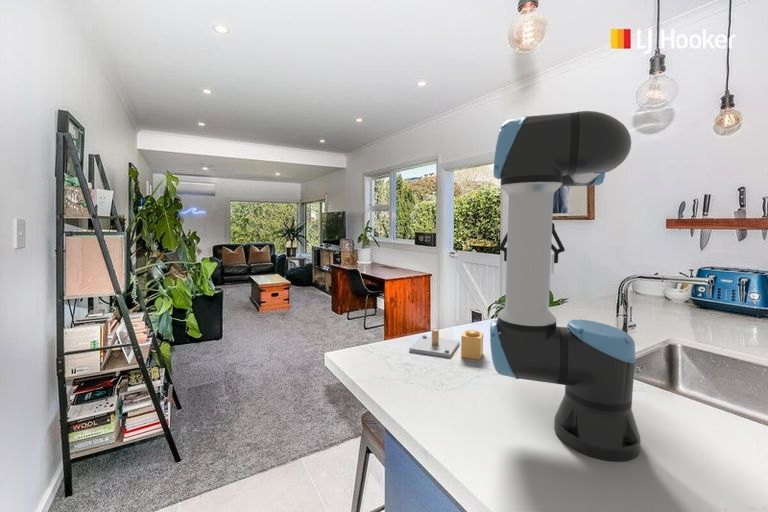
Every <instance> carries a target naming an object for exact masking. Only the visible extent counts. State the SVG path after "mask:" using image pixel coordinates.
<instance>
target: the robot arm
mask: <svg viewBox="0 0 768 512" xmlns="http://www.w3.org/2000/svg"><path fill="white" fill-rule="evenodd" d="M631 149H632V139H631V134H630V132H629V130H628V128H627V127H626V125H624V124H623V122H621V121H620V120H618V119H617V118H615V117H613V116H612V115H609V114H606V113H604V112H599V111H592V110H583V111H576V112H564V113H553V114H542V115H541V114H540V115H531V116H524V117H520V118H519V117H518V118H514V119H513V118H512V119H507V120H506V121H505V122H503V124H502V125H501V126H500V129H499V132H498V136H497V141H496V145H495V152H494V161H493V177H494V179H497V180H500V188H501V189H502V190H503V191H504V192H505V193H506V194H507V196H508V200H507V201H508V202H507V231H506V234H505V235H504V238H503V239H502V241H501V243H500V245H499V247H498V250H499V251H502V252H503V257H504V258H503V261H504V262H506V265H505V266H506V271H505V275H506V276H505V304H504V308H502V309H501V310H500V311H499V312H498V313H497V319H495V320H492V321H491V322H490V326H489V327H490V328H489V334H490V338H489V343H490V353H491V360H492V364H493V367H494V370H495V371H496V373H498V375H500V376H505V377H509V378H514V379H515V380H526V381H534V382H540V383H547V384H554V385H555V384H556V385H563V386H565V387H564V395H563V397H562V400H561V402H560V404H559V406H558V408H557V411H556V413H555V415H554V421H553V423H554V425H553V430H554V433H555V434H556V436H557V437H558V438H559V439H560V440H561V441H562V442H563V443H564V444H566V445H567V446H568V447H570V448H571V449H573V450H575V451H577V452H579V453H581V454H584V455H587V456H589V457H593V458H595V459H601V460H604V461H605V460H606V461H614V462H615V461H616V462H624V461H629V460H632V459H635V458H637V456H638V455H640V452H641V441H642V440H641V435H640V433H639V429H638V425H637V423H636V420H635V415H634V413H633V409H632V408H633V406H632V405H633V394H634V393H633V392H634V378H635V377H634V376H635V365H636V363H637V362H636V361H637V359H636V344H635V340H634V339H633V337H632V336H631V335H630V334H628V333H627V332H626V331H624V330H622V329H620V328H618V327H615V326H612V325H610V324H606V323H602V322H598V321H593V320H589V319H571V320H569V321H568V323H567V324H566V327H565V326H557V322H558V321H557V317H556V316H555V315H554V314H553V313H552V312H551V311H550V288H551V287H550V286H551V274H552V275H553V274H554V271H555V264H558V263H559V254H560V253H564V252H565V251H566V249H565V247H564V246H563V243H562V241H561V240H560V237H559V235H558V232H557V231H556V228H555V227H556V226H555V223H554V222H553V217H554V216H553V214H554V213H553V212H554V211H553V210H554V195H555V192H557V191H558V189H560V188H561V187H593V186H600V185H602V184H603V183H604V180H605V177H606V173H608V172H611V171H613V170H615V169H616V168H618V166H621V164H623V163H624V161H625V160H626V159H627V157H628V156H629V154H630V151H631ZM552 237H553V238H554V240H555V242H556V244H557V246H558V248H557V247H556V246H555V245H554V243H552V242H553V241H552ZM505 245H506V247H505ZM552 251H553V252H552Z"/></svg>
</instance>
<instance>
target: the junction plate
mask: <svg viewBox="0 0 768 512" xmlns="http://www.w3.org/2000/svg"><path fill="white" fill-rule="evenodd" d="M459 345H461V341H460V340H457V339H449V338H441V337H440V330H439V329H436V328H435V329H431V336H427V335H422V336H420V337H419V338H418V339H417V340H416V341H415V343H412V345H411V346H410V347H409V350H408V351H409V353H417V354H422V355H423V354H424V355H429V356H435V357H444V358H450V359H451V357H453V355H454V353H455V351H457V349H458V347H459Z"/></svg>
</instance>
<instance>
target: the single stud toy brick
mask: <svg viewBox="0 0 768 512" xmlns="http://www.w3.org/2000/svg"><path fill="white" fill-rule="evenodd" d="M460 338H461V341H460V357H461V358H465V359H472V360H479V361H480V360H481V359H482V357H483V354H484V332H480V331H479V330H475V329H467V330H464V331H463V333H462V334H461V337H460Z"/></svg>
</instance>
